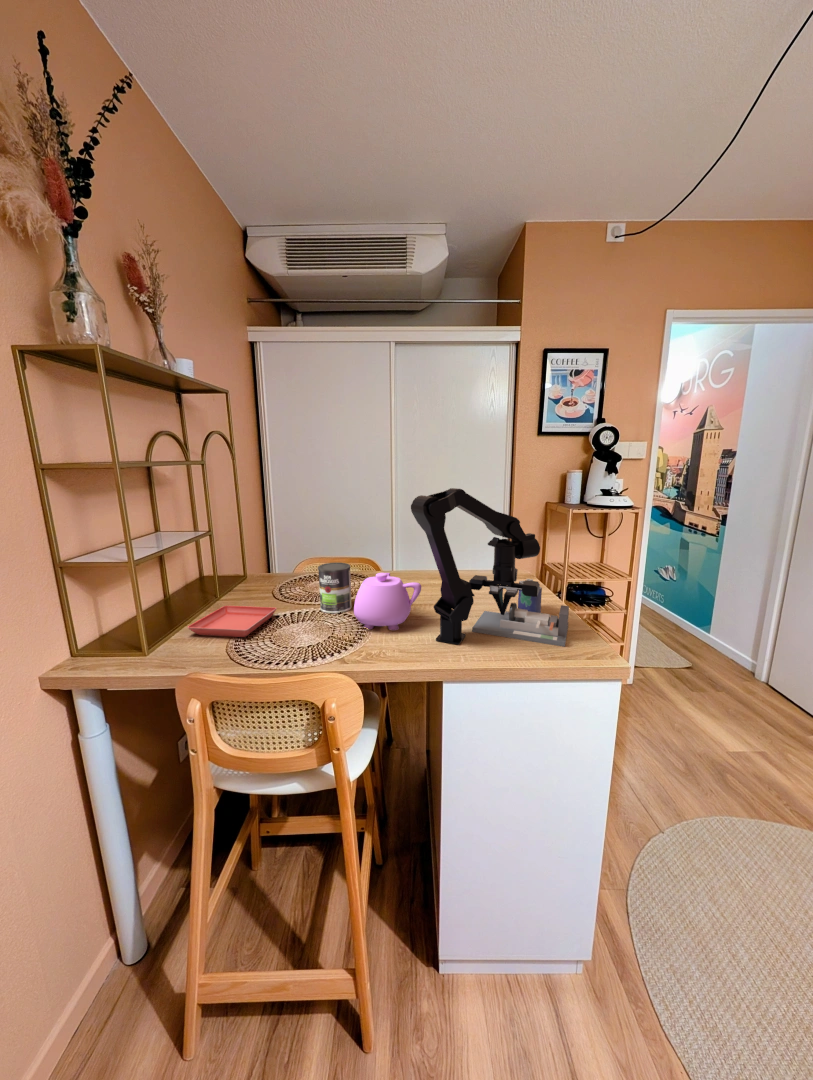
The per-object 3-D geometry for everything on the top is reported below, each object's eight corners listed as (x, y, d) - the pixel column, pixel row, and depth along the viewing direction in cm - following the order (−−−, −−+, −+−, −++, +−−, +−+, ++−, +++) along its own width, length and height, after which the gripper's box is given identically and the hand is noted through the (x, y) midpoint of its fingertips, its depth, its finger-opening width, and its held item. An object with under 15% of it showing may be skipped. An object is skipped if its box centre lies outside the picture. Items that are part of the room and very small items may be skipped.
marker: (546, 637, 104) (547, 627, 103) (550, 624, 112) (550, 615, 111) (554, 639, 103) (554, 628, 102) (557, 625, 111) (557, 616, 111)
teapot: (424, 609, 130) (423, 563, 127) (419, 635, 110) (419, 582, 107) (363, 608, 132) (362, 563, 129) (349, 633, 112) (346, 581, 109)
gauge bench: (472, 631, 112) (472, 606, 110) (484, 614, 124) (485, 592, 123) (564, 646, 102) (566, 619, 101) (568, 626, 114) (569, 602, 113)
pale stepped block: (505, 631, 108) (506, 611, 107) (512, 619, 116) (512, 600, 115) (545, 637, 104) (546, 616, 103) (549, 624, 112) (550, 604, 111)
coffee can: (343, 614, 126) (341, 571, 123) (314, 611, 129) (311, 569, 126) (357, 603, 135) (355, 563, 133) (329, 601, 138) (327, 561, 136)
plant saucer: (225, 614, 129) (224, 604, 128) (278, 616, 126) (277, 606, 125) (186, 638, 111) (185, 627, 111) (247, 641, 108) (246, 630, 108)
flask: (542, 616, 122) (544, 582, 120) (535, 617, 121) (536, 583, 119) (522, 606, 131) (523, 574, 129) (514, 608, 129) (515, 575, 128)
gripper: (543, 557, 115) (540, 609, 118) (478, 552, 123) (478, 601, 126) (538, 566, 105) (535, 623, 108) (468, 560, 113) (467, 613, 116)
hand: (502, 614), depth 115 cm, fingers closed
